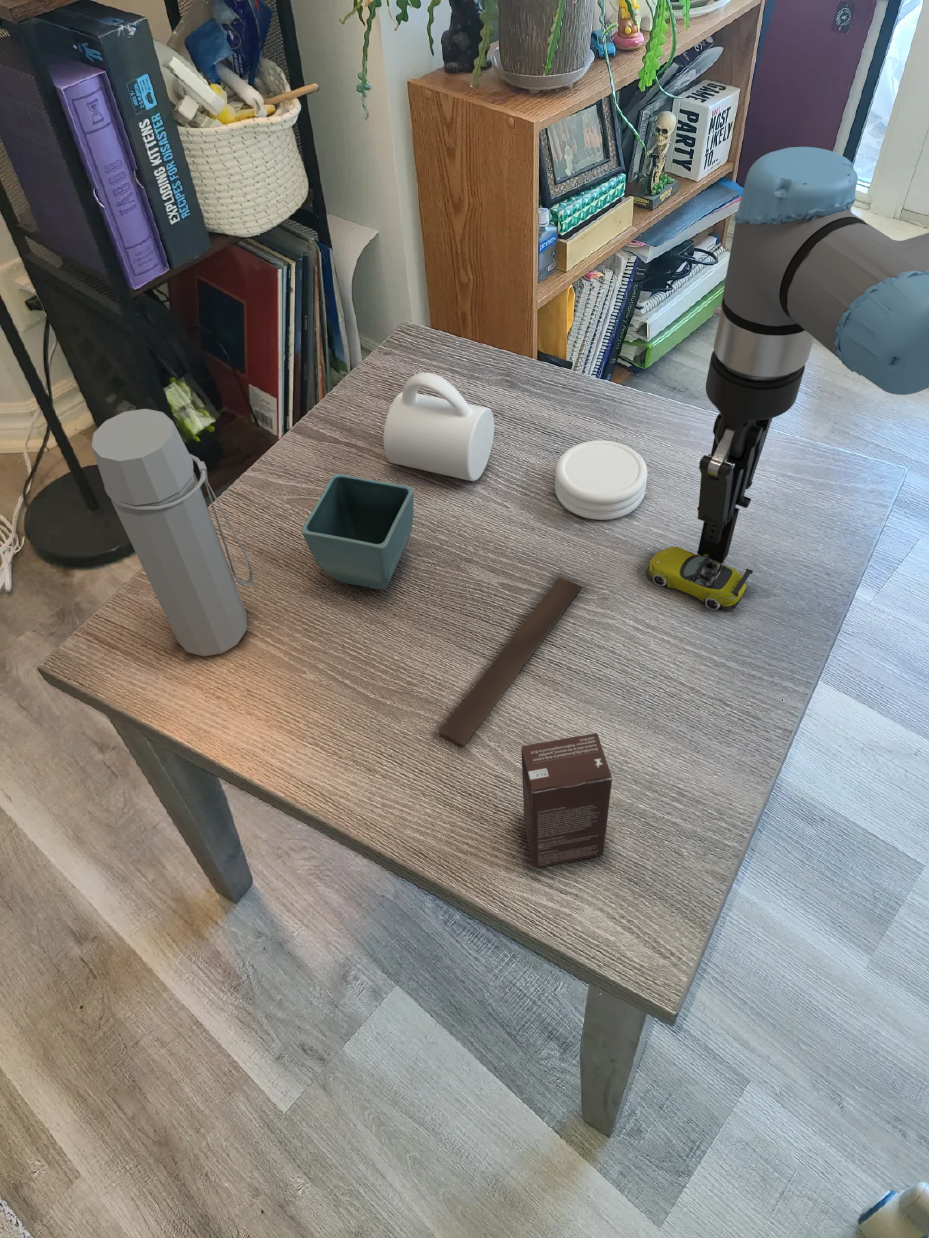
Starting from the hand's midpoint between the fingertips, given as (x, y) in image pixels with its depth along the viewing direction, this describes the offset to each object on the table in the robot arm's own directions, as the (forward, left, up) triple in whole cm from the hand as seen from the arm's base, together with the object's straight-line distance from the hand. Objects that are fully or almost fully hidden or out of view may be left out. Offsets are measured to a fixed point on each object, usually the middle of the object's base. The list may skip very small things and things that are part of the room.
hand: (712, 554), depth 91 cm
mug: (+33, +1, -2) cm, 33 cm away
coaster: (+15, -4, -2) cm, 16 cm away
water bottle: (+38, +33, -2) cm, 50 cm away
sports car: (0, +3, -2) cm, 4 cm away
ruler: (+11, +21, -2) cm, 24 cm away
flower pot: (+30, +19, -2) cm, 35 cm away
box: (-2, +35, -2) cm, 35 cm away
